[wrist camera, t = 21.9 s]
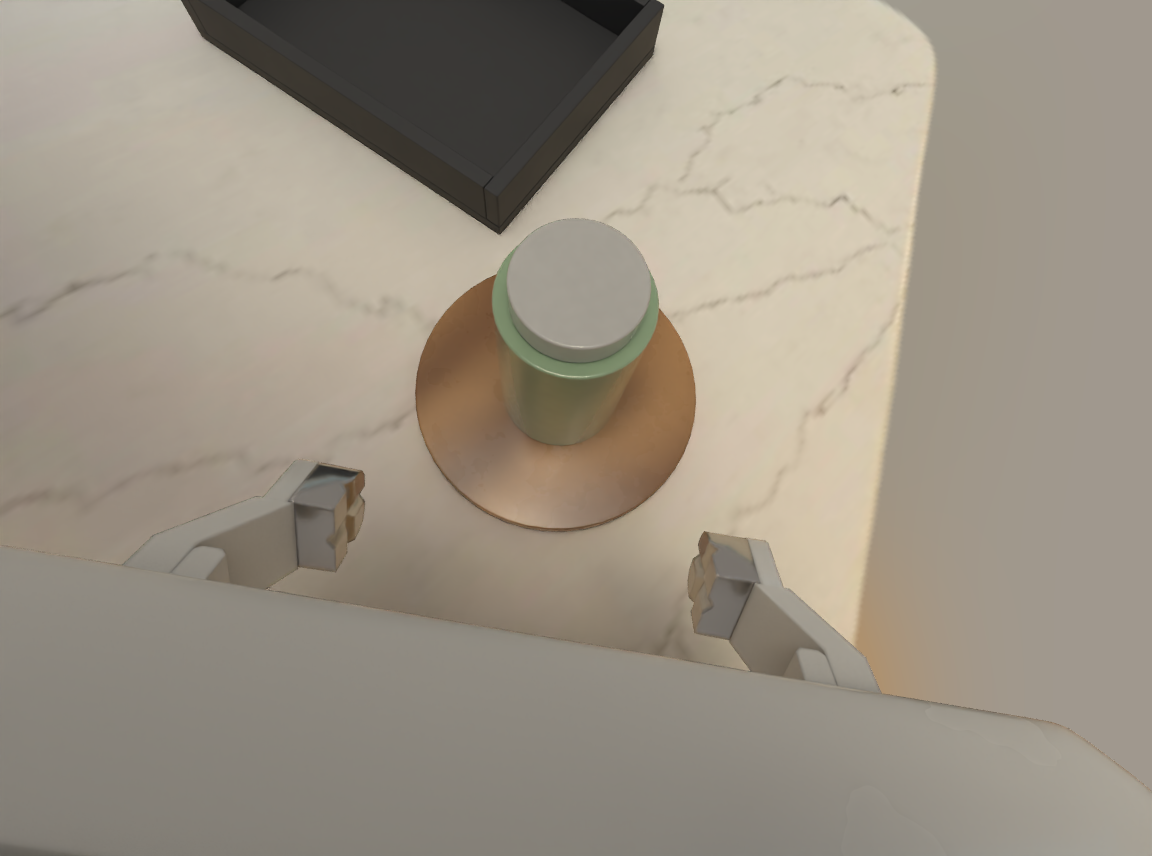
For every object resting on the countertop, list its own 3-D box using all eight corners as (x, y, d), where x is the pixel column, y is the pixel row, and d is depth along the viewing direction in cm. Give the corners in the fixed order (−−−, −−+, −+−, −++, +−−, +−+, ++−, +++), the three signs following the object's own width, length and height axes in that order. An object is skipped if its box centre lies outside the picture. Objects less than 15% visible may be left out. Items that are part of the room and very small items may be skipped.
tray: (201, 36, 33) (168, -20, 30) (379, -116, 36) (366, -179, 33) (499, 235, 31) (497, 196, 28) (653, 54, 35) (665, 4, 32)
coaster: (359, 423, 28) (354, 418, 27) (526, 224, 31) (526, 215, 30) (593, 590, 27) (595, 590, 26) (740, 366, 30) (746, 360, 29)
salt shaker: (482, 361, 28) (461, 238, 18) (587, 318, 29) (619, 180, 19) (531, 465, 27) (535, 393, 17) (637, 417, 28) (699, 324, 18)
